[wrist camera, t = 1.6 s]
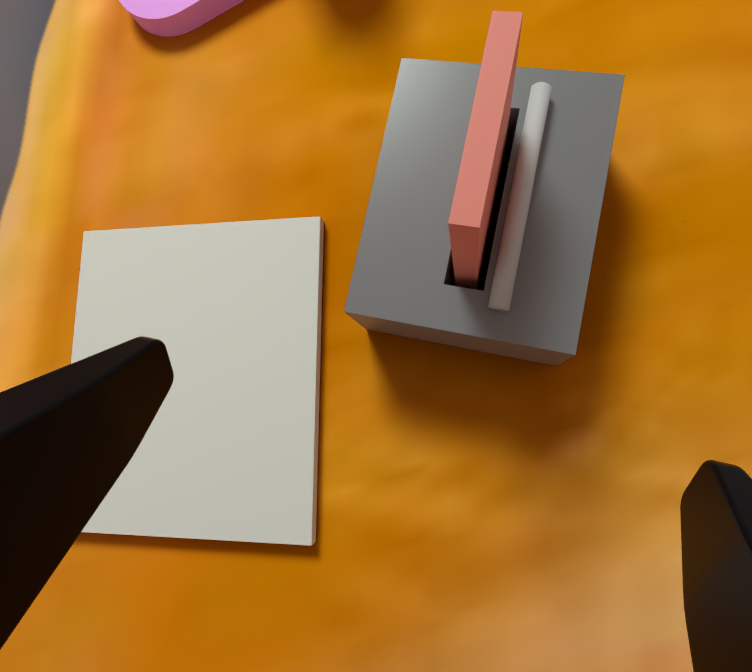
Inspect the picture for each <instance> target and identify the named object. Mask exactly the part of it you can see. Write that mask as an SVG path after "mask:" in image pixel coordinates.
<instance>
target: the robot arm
mask: <svg viewBox="0 0 752 672" xmlns="http://www.w3.org/2000/svg"><path fill="white" fill-rule="evenodd" d="M173 379H174V373H173V369H172V366H171V362H170V359H169V355H168V352H167V349H166V346H165V344H164V343H163V342H162V341H161V340H159V339H154V338H150V337H145V336H140V337H136V338H134V339H131V340H129V341H126V342H124V343H121V344H119V345H116V346H114V347H111V348H109V349H107V350H104V351H102V352H99V353H97V354H94V355H92V356H89V357H87V358H84V359H82V360H79V361H77V362H74V363H72V364H70V365H67V366H65V367H62V368H60V369H57V370H55V371H52V372H50V373H47V374H45V375H42V376H40V377H38V378H35V379H33V380H30V381H28V382H25V383H23V384H20V385H18V386H15V387H13V388H10V389H8V390H5V391H3V392H1V393H0V649H1V648H2V646H3V645H4V644H5V642H6V641H7V639H8V638H9V636H10V635H11V633H12V632H13V630H14V629H15V628H16V626H17V625H18V623H19V622H20V620H21V619H22V617H23V616H24V614H25V613H26V612H27V610H28V609H29V607H30V606H31V604H32V603H33V601H34V600H35V598H36V597H37V596H38V594H39V593H40V591H41V590H42V588H43V587H44V585H45V584H46V582H47V581H48V580H49V578H50V577H51V575H52V574H53V572H54V571H55V569H56V568H57V566H58V565H59V564H60V562H61V561H62V559H63V558H64V556H65V555H66V553H67V552H68V550H69V549H70V548H71V546H72V545H73V543H74V542H75V540H76V539H77V537H78V536H79V534H80V533H81V532H82V530H83V529H84V527H85V526H86V524H87V523H88V521H89V520H90V518H91V517H92V516H93V514H94V513H95V511H96V510H97V508H98V507H99V505H100V504H101V502H102V501H103V500H104V498H105V497H106V495H107V494H108V492H109V491H110V489H111V488H112V486H113V485H114V484H115V482H116V481H117V479H118V478H119V476H120V475H121V473H122V472H123V470H124V469H125V468H126V466H127V464H128V463H129V461H130V460H131V458H132V457H133V455H134V454H135V452H136V450H137V448H138V447H139V445H140V443H141V441H142V440H143V438H144V436H145V434H146V432H147V430H148V429H149V427H150V425H151V423H152V421H153V420H154V418H155V416H156V414H157V412H158V410H159V409H160V407H161V405H162V403H163V401H164V399H165V398H166V396H167V394H168V392H169V390H170V388H171V386H172V384H173ZM680 512H681V542H682V572H683V597H684V610H685V618H686V626H687V632H688V638H689V645H690V651H691V658H692V664H693V671H694V672H752V479H751V478H750V476H749V475H748V474H747V473H746V472H745V471H744V470H743V469H741V468H740V467H738V466H736V465H732V464H728V463H723V462H718V461H714V460H708V461H706V462H704V463H703V464H702V465H701V467H700V468H699V470H698V471H697V473H696V474H695V476H694V477H693V479H692V480H691V482H690V483H689V485H688V487H687V488H686V490H685V491H684V493H683V496H682V499H681V506H680Z"/></svg>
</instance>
